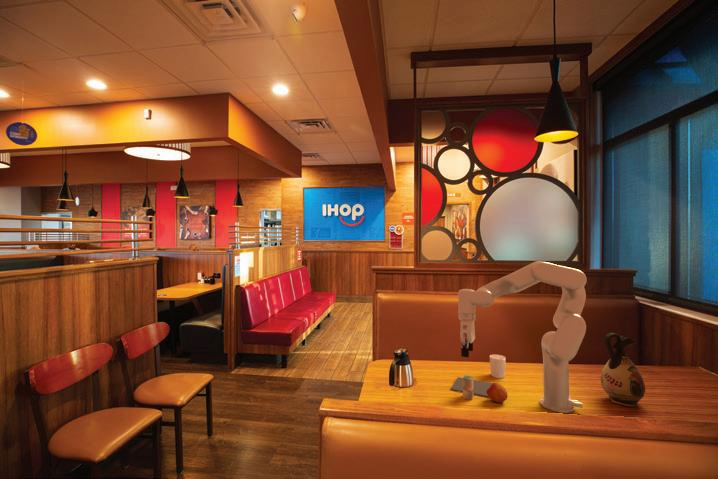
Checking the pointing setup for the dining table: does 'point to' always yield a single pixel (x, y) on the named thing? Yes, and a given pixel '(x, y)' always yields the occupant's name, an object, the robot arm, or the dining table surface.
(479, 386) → the rubber mat
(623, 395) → the ceramic jug
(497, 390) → the fruit
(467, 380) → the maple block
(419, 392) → the dining table surface
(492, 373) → the white cup
